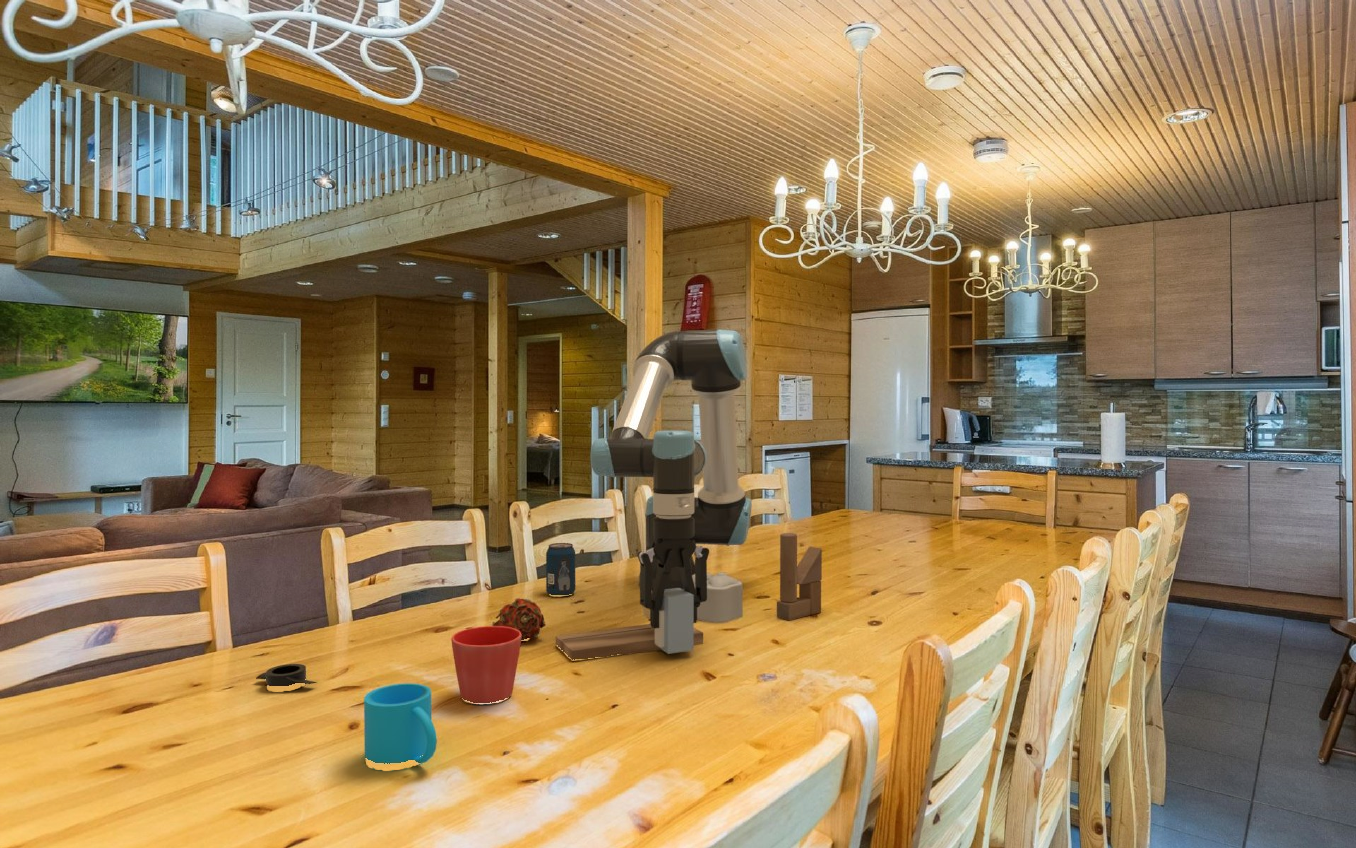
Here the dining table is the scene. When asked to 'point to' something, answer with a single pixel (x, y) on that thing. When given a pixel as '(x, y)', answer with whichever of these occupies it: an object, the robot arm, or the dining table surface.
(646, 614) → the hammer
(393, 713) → the mug
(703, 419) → the robot arm
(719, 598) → the paw mold
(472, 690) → the flower pot
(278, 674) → the black winged ring
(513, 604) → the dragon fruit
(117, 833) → the dining table surface
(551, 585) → the soda can
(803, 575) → the wooden block
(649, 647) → the board
